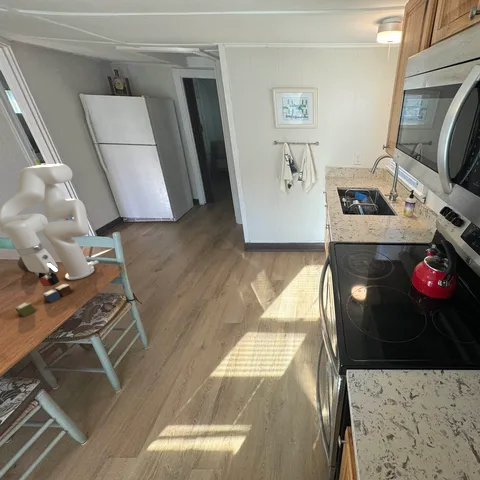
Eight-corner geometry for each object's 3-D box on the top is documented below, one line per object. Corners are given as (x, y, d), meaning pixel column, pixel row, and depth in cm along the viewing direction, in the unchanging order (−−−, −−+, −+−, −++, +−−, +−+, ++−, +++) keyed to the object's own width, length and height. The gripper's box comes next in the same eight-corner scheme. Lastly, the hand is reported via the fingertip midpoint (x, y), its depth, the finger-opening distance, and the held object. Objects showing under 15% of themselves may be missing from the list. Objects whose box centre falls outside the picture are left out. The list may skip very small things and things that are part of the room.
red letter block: (51, 280, 123) (47, 273, 121) (59, 281, 123) (55, 274, 121) (43, 285, 120) (38, 278, 118) (50, 286, 120) (46, 279, 118)
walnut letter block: (67, 289, 136) (64, 283, 134) (72, 291, 134) (68, 285, 133) (58, 294, 132) (54, 287, 131) (63, 296, 131) (59, 289, 129)
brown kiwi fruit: (19, 273, 149) (11, 260, 145) (24, 267, 154) (16, 254, 150) (36, 270, 151) (28, 257, 147) (40, 264, 157) (33, 252, 153)
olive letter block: (30, 308, 123) (25, 301, 122) (35, 310, 122) (30, 303, 120) (19, 314, 120) (14, 307, 118) (23, 316, 119) (19, 309, 117)
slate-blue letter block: (56, 295, 132) (52, 289, 130) (60, 297, 130) (57, 290, 128) (46, 300, 128) (42, 293, 126) (50, 302, 127) (46, 295, 125)
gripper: (56, 245, 115) (75, 279, 124) (23, 243, 117) (43, 276, 126) (38, 254, 108) (59, 290, 117) (3, 251, 110) (26, 286, 119)
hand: (51, 282), depth 121 cm, fingers closed on red letter block, 4 cm apart
